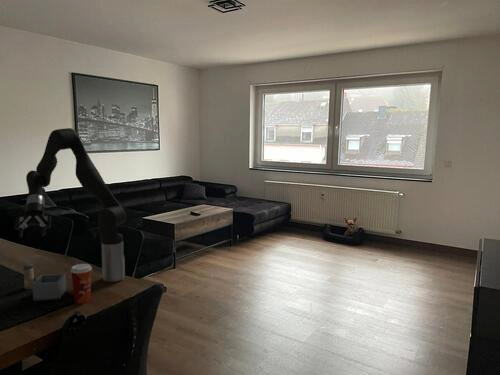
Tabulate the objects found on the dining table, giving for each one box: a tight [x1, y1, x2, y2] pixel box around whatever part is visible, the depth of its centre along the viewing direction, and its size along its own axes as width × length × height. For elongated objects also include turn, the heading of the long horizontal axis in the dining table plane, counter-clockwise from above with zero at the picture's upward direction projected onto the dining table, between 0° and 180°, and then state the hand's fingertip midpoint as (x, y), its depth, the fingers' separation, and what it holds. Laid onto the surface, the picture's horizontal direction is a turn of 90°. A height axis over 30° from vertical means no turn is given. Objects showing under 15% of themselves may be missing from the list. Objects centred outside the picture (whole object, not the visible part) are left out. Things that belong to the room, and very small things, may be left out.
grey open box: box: [32, 273, 67, 302], centre depth 149 cm, size 9×9×7 cm
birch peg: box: [22, 263, 35, 290], centre depth 155 cm, size 4×4×10 cm
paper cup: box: [70, 263, 93, 304], centre depth 144 cm, size 8×8×14 cm
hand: (31, 236), depth 164 cm, fingers open, 8 cm apart
